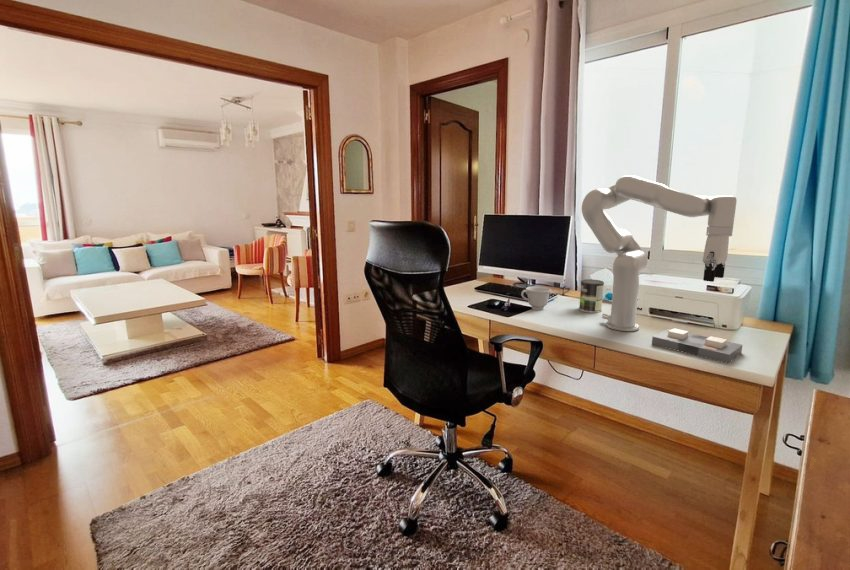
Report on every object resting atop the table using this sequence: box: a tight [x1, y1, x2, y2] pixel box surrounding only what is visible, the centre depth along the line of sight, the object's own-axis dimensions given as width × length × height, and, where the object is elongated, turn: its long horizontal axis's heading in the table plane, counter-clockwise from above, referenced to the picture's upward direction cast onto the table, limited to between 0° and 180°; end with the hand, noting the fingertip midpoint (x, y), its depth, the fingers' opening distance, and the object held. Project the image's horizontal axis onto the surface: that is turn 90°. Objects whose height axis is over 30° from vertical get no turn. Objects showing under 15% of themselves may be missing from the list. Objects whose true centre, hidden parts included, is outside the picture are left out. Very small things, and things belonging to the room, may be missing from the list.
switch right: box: [705, 335, 728, 349], centre depth 145 cm, size 5×5×3 cm
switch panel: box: [651, 328, 743, 364], centre depth 150 cm, size 24×14×3 cm, turn 39°
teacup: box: [520, 285, 552, 311], centre depth 205 cm, size 12×15×10 cm
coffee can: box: [578, 278, 605, 314], centre depth 201 cm, size 10×10×14 cm
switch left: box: [668, 327, 689, 340], centre depth 155 cm, size 5×5×3 cm
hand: (713, 279), depth 151 cm, fingers open, 9 cm apart
